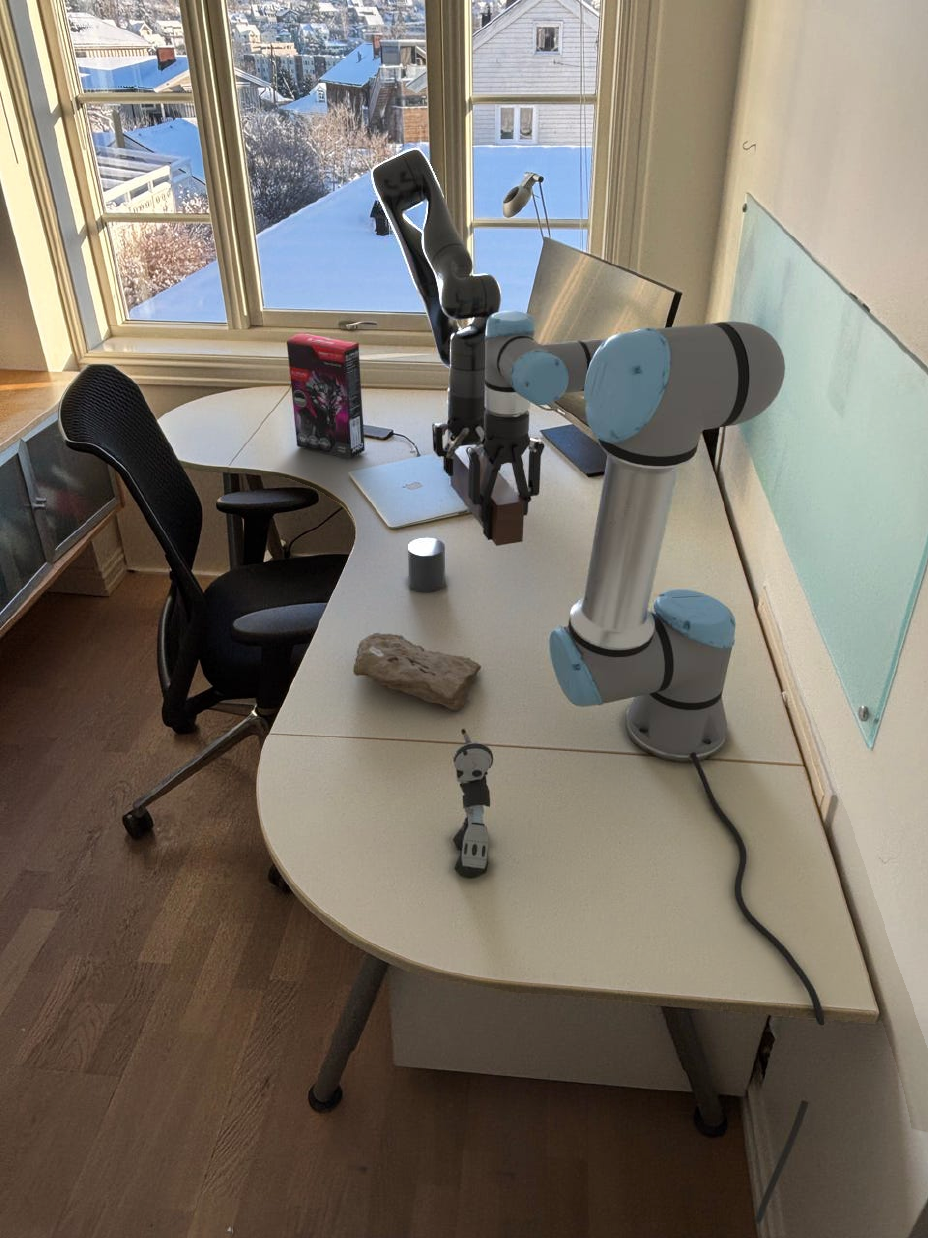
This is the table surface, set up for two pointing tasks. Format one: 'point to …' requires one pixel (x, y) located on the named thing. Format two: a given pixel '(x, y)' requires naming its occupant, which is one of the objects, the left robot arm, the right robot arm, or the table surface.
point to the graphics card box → (326, 394)
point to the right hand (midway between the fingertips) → (502, 533)
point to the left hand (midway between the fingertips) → (468, 471)
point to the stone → (416, 669)
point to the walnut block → (491, 500)
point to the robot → (473, 807)
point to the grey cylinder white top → (426, 564)
